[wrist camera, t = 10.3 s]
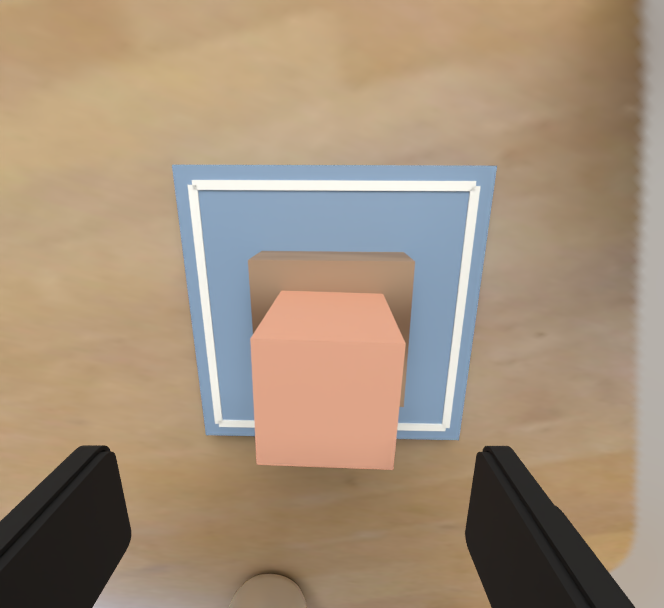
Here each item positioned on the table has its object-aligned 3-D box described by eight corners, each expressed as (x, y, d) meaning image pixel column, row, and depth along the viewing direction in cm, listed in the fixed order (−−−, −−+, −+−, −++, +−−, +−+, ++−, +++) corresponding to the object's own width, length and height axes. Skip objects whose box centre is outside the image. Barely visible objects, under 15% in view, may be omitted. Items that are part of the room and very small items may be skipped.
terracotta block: (376, 383, 18) (393, 469, 12) (282, 380, 18) (256, 464, 12) (382, 293, 17) (405, 343, 11) (281, 290, 17) (250, 338, 11)
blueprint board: (453, 428, 24) (459, 441, 22) (212, 423, 24) (205, 436, 23) (487, 167, 19) (498, 165, 17) (182, 167, 19) (171, 164, 18)
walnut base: (395, 379, 21) (403, 407, 18) (268, 377, 21) (257, 404, 19) (403, 252, 19) (415, 261, 16) (261, 250, 19) (247, 259, 16)
